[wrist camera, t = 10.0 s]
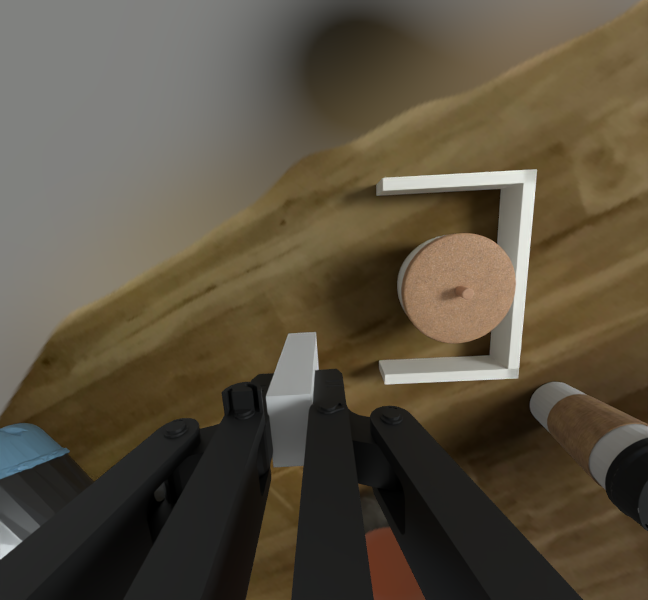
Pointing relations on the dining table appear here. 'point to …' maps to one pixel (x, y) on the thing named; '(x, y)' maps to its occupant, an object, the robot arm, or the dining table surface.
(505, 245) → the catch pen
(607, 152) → the dining table surface
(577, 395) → the coffee cup
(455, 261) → the lidded jar
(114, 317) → the dining table surface
